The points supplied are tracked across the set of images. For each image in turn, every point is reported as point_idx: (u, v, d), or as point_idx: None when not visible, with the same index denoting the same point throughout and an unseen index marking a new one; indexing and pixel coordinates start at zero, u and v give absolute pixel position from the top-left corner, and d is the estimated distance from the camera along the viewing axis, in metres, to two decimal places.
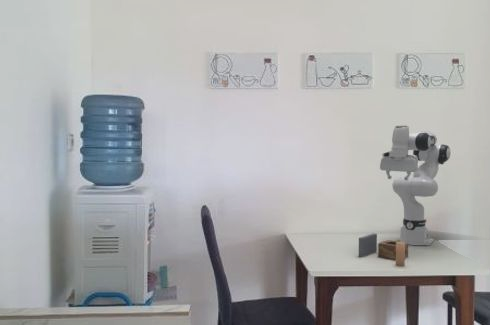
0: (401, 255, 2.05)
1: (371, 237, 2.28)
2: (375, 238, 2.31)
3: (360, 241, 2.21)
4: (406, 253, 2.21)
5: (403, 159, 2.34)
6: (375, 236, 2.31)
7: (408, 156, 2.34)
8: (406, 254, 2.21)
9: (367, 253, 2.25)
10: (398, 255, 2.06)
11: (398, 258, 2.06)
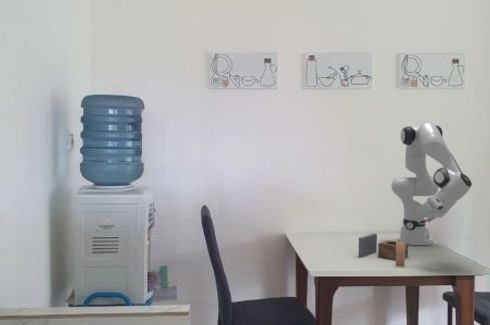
0: (401, 255, 2.05)
1: (371, 237, 2.28)
2: (375, 238, 2.31)
3: (360, 241, 2.21)
4: (406, 253, 2.21)
5: None
6: (375, 236, 2.31)
7: None
8: (406, 254, 2.21)
9: (367, 253, 2.25)
10: (398, 255, 2.06)
11: (398, 258, 2.06)
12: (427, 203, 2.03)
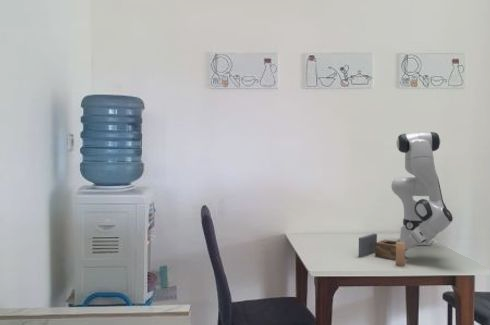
0: (401, 255, 2.05)
1: (371, 237, 2.28)
2: (375, 238, 2.31)
3: (360, 241, 2.21)
4: None
5: None
6: (375, 236, 2.31)
7: None
8: None
9: (367, 253, 2.25)
10: (398, 255, 2.06)
11: (398, 258, 2.06)
12: (411, 237, 2.10)
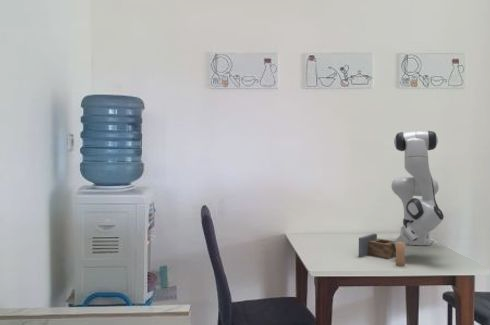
0: (401, 255, 2.05)
1: (371, 237, 2.28)
2: (375, 238, 2.31)
3: (360, 241, 2.21)
4: (395, 251, 2.25)
5: None
6: (375, 236, 2.31)
7: None
8: None
9: (367, 253, 2.25)
10: (398, 255, 2.06)
11: (398, 258, 2.06)
12: (403, 235, 2.12)
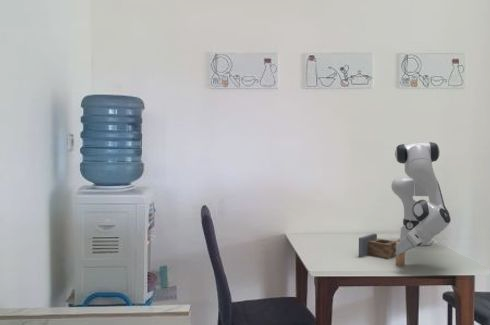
0: (401, 255, 2.05)
1: (371, 237, 2.28)
2: (375, 238, 2.31)
3: (360, 241, 2.21)
4: (395, 251, 2.25)
5: None
6: (375, 236, 2.31)
7: None
8: None
9: (367, 253, 2.25)
10: (398, 255, 2.06)
11: (398, 258, 2.06)
12: (406, 239, 1.96)
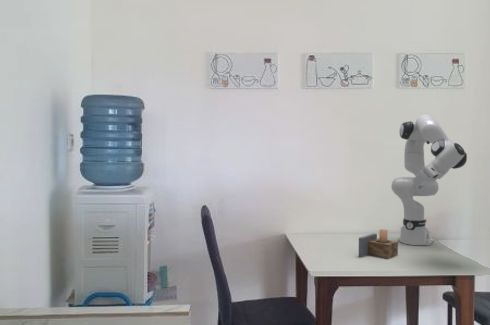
0: (383, 241, 2.24)
1: (371, 237, 2.28)
2: (375, 238, 2.31)
3: (360, 241, 2.21)
4: (395, 251, 2.25)
5: None
6: (375, 236, 2.31)
7: None
8: (396, 252, 2.25)
9: (367, 253, 2.25)
10: (381, 241, 2.25)
11: None
12: (423, 172, 2.11)
